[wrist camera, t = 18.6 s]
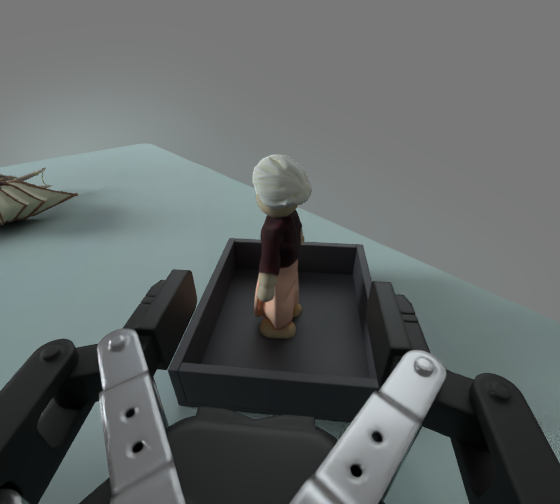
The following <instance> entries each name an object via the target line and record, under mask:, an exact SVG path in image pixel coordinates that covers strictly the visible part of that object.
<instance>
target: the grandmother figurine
mask: <svg viewBox="0 0 560 504" xmlns="http://www.w3.org/2000/svg"><path fill="white" fill-rule="evenodd" d="M252 180H253V181H252V183H253V184H254V185H255V192H256V200H257V203H258V206H259V207H260V209H261V211H262V212H263V213H265V214H267V217H266V220H265V223H264V225H263V227H262V230H261V246H262V256H261V261H260V265H259V277H258V282H257V286H256V293H255V302H254V315H255V316H256V317H261V316H262V317H264V318H263V320H262V321H261V324H260V327H259V330H260V333H261V334H262V335H263V336H264V337H267V338H278V339H289V338H292V337H293V336H294V335H295V333H296V326H295V324H294V323H293V322H292V318H293V317H297V316H299V315H300V313H301V312H302V307H301V305H300V304H299V303H298V302H299V284H298V271H297V268H298V258H299V254H300V247H301V245H302V244H303V242H304V236H303V232H302V224H301V222H300V219H299V216H298V213H297V211H296V210H295V209H296V208H297V206H298V205H301V204H303V203H304V202H306V201H307V200H308V198H309V197H310V195H311V192H312V186H311V184H310V182H309V180H308V178H307V175H306V172H305V170H304V168H303V167H302V166H301V165H299V164H297V163H296V162H295V161H294V160H292V159H291V158H289V157H288V156H285V155H281V154H280V155H271V156H268V157H266V158H263V159H262V160H261V161H260V162H259V164H257V166H256V167H254V172H253V179H252Z"/></svg>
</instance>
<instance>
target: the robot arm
mask: <svg viewBox="0 0 560 504" xmlns="http://www.w3.org/2000/svg"><path fill="white" fill-rule="evenodd" d="M196 304H197V295H196V290H195V285H194V280H193V275H192V272H191V271H190V270H172V271H171V273H170V274H169V276H168V278H167V279H166V280H160V281H159V282H158V283H156V284H155V285H154V286H152V287H151V288H150V290H149V291H148V293H147V294H146V297H144V298H143V300H142V301H141V304H139V306H138V307H137V309H136V310H135V311H134V313H133V314H132V316H131V317H130V319H129V320H128V321H127V323H126V324H125V326H124V327H123V329H119V330H115V331H113V332H111V333H109V334H108V335H106V336H105V337H104V338H103V339H102V340H101V341H100V342H99V344H94V345H89V346H83V347H78V348H76V347H75V346H74V344H73V342H72V341H70V340H68V339H58V340H54V341H51V342H49V343H46V344H45V345H43V346H41V347H40V348H38V349H37V350H36V351H35V352H34V353H33V354H32V355H31V356H30V357H29V359H28V360H27V361H26V362H25V363H24V364H23V366H22V367H21V368H20V369H19V370H18V371H17V373H16V374H15V375H14V376H13V377H12V378H11V380H10V381H9V382H8V383H7V384H6V385H5V386H4V388H3V389H2V390H1V391H0V504H38V503H39V501H40V499H41V497H42V495H43V494H44V492H45V490H46V488H47V487H48V485H49V483H50V481H51V480H52V478H53V476H54V474H55V472H56V471H57V469H58V467H59V465H60V464H61V462H62V460H63V458H64V457H65V455H66V453H67V451H68V449H69V448H70V446H71V444H72V442H73V441H74V439H75V437H76V435H77V433H78V432H79V430H80V428H81V426H82V425H83V423H84V421H85V419H86V418H87V416H88V414H89V412H90V410H91V409H92V407H93V405H94V403H95V402H97V401H100V408H101V415H102V423H103V431H104V438H105V446H106V453H107V461H108V469H109V476H110V477H109V478H108V479H107V480H106V481H105V482H103V483H102V484H101V485H100V486H99V487H98V488H96V489H95V490H94V491H93V492H92V493H91V494H89V495H88V496H87V497H86V498H85V499H84V500H83V501H81V502H80V503H79V504H385V503H384V502H383V501H384V499H385V497H386V496H387V494H388V492H389V490H390V488H391V486H392V484H393V482H394V480H395V478H396V476H397V474H398V472H399V470H400V468H401V466H402V464H403V462H404V460H405V458H406V457H407V455H408V453H409V451H410V449H411V447H412V445H413V443H414V441H415V439H416V437H417V436H418V434H419V432H420V430H421V428H422V426H423V427H426V428H428V429H431V430H433V431H436V432H438V433H440V434H443V435H445V436H448V437H450V439H451V442H452V445H453V449H454V452H455V456H456V459H457V463H458V466H459V470H460V473H461V476H462V480H463V483H464V487H465V490H466V494H467V497H468V500H469V504H560V463H559V461H558V460H557V458H556V456H555V454H554V452H553V450H552V448H551V446H550V445H549V443H548V441H547V439H546V437H545V435H544V433H543V432H542V430H541V428H540V426H539V424H538V422H537V420H536V419H535V417H534V415H533V413H532V411H531V409H530V407H529V406H528V404H527V402H526V400H525V398H524V396H523V395H522V393H521V392H520V390H519V389H518V388H517V387H516V386H515V385H514V384H513V383H511V382H510V381H508V380H507V379H505V378H503V377H501V376H499V375H496V374H491V373H482V374H479V375H478V376H477V377H476V378H475V380H473V379H470V378H467V377H464V376H461V375H459V374H456V373H453V372H451V371H449V370H447V369H445V367H444V365H443V364H442V362H441V361H440V360H439V359H438V358H436V357H435V356H434V355H432V354H431V353H430V351H429V348H428V345H427V343H426V340H425V338H424V335H423V332H422V330H421V327H420V324H419V323H418V319H417V317H416V315H415V311H414V309H413V306H412V304H411V303H410V302H409V300H408V299H407V298H406V297H405V296H404V295H396V294H395V292H394V289H393V286H392V284H391V282H377V281H373V282H372V284H371V288H370V293H369V298H368V303H367V308H366V322H367V328H368V333H369V338H370V343H371V349H372V354H373V359H374V365H375V370H376V375H377V381H378V386H379V389H380V390H379V391H377V390H375V391H374V392H373V393H372V395H371V396H370V397H369V399H368V400H367V401H366V403H365V404H364V406H363V407H362V408H361V410H360V411H359V413H358V414H357V415H356V417H355V418H354V420H353V421H352V422H351V424H350V425H349V426H348V428H347V429H346V431H345V432H344V433H343V435H342V436H341V438H340V439H339V440H337V439H336V438H335V437H333V436H332V435H330V434H329V433H328V432H326V431H324V430H322V429H320V428H317V427H315V417H308V416H297V415H286V414H285V415H279V416H273V417H267V418H261V419H252V418H249V417H246V416H244V415H241V414H239V413H236V412H233V411H231V410H228V409H222V408H212V407H201V406H199V408H198V411H197V414H196V416H192V417H189V418H185V419H183V420H180V421H178V422H176V423H174V424H173V425H171V426H170V427H169V425H168V422H167V419H166V416H165V413H164V409H163V406H162V403H161V400H160V396H159V393H158V390H157V387H156V383H155V380H154V377H153V376H154V374H155V372H156V370H157V369H161V370H167V369H168V367H169V365H170V362H171V360H172V358H173V356H174V354H175V352H176V350H177V347H178V345H179V343H180V341H181V339H182V337H183V335H184V332H185V330H186V328H187V326H188V324H189V322H190V319H191V317H192V315H193V313H194V311H195V308H196ZM52 398H53V399H52ZM50 401H51V402H50ZM48 404H49V405H48ZM47 405H48V406H47ZM46 407H47V408H46ZM45 408H46V409H45ZM43 411H44V412H43ZM41 414H42V415H41Z"/></svg>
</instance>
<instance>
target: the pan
mask: <svg viewBox="0 0 560 504" xmlns="http://www.w3.org/2000/svg"><path fill="white" fill-rule="evenodd" d="M261 256H262V246H261V240H256V239H235V238H229V240H228V242H227V244H226V247H225V249H224V251H223V253H222V255H221V257H220V259H219V262H218V264H217V266H216V268H215V270H214V272H213V274H212V277H211V279H210V281H209V283H208V285H207V287H206V289H205V292H204V294H203V296H202V298H201V300H200V302H199V304H198V306H197V309H196V311H195V313H194V315H193V317H192V319H191V321H190V324H189V326H188V328H187V330H186V332H185V334H184V336H183V339H182V341H181V343H180V345H179V347H178V349H177V351H176V354H175V356H174V358H173V360H172V362H171V364H170V366H169V369H168V373H169V376H170V379H171V382H172V385H173V388H174V391H175V394H176V397H177V400H178V404H179V405H182V406H192V407H199V406H201V407H212V408H222V409H228V410H234V411H244V412H254V413H264V414H275V415H285V414H286V415H297V416H308V417H315V418H316V419H326V420H337V421H347V422H352V421H353V420H354V418H355V417H356V415H357V414H358V413H359V411H360V410H361V408H362V407H363V406H364V404H365V403H366V401H367V400H368V399H369V397H370V396H371V395H372V393H373V392H374V391H375V390H377V391H379V390H380V389H379V386H378V381H377V375H376V370H375V365H374V359H373V354H372V349H371V343H370V338H369V333H368V328H367V322H366V308H367V303H368V298H369V293H370V288H371V284H372V281H371V277H370V273H369V269H368V264H367V260H366V256H365V252H364V248H363V245H360V244H357V245H356V244H339V243H318V242H303V244H302V245H301V247H300V254H299V258H298V268H297V271H298V284H299V302H298V303H299V304H300V305H301V307H302V312H301V313H300V315H299V316H297V317H293V318H292V322H293V323H294V324H295V326H296V333H295V335H294V336H293V337H292V338H289V339H278V338H267V337H264V336H263V335H262V334H261V333H260V330H259V327H260V324H261V321H262V320H263V318H264V317H262V316H261V317H256V316H255V315H254V302H255V293H256V286H257V282H258V277H259V265H260V261H261Z"/></svg>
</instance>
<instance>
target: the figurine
mask: <svg viewBox="0 0 560 504" xmlns="http://www.w3.org/2000/svg"><path fill="white" fill-rule="evenodd" d="M45 169H46V168H44V169H43V168H42V170H39V171H37V172H36V171H35V172H33V173H31V174H28V175H25V176H22V177H19V178H17V177H13V176H5V175H1V174H0V225H2V226H3V224H4V223H6V222H9V223H11V222H12V223H13V221H14V220H16V221H20V220H25V219H27V218H28V217H31V216H35V215H37V214H39V213H41V212H43V211H45V210H48V209H50V208H52V207H54V206H56V205H58V204H60V203H62V202H64V201H66V200H68V199H70V198H72V197H74V196H78V194H77V193H75V194H73V193H67V192H63V191H61V192H60V191H53V190H50V189H46V188H48V187H51V186H52V185H49V186H48V185H46V184H45V183H44V181H43V171H44V170H45ZM41 172H42V181H43V183H44V184H45V185H46V186H42V185H41V186H36V185H33V184H29V183H27V182H22V181H25V180H27V179H29V178H31V177H33V176H36V175H38V174H39V173H41Z"/></svg>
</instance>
